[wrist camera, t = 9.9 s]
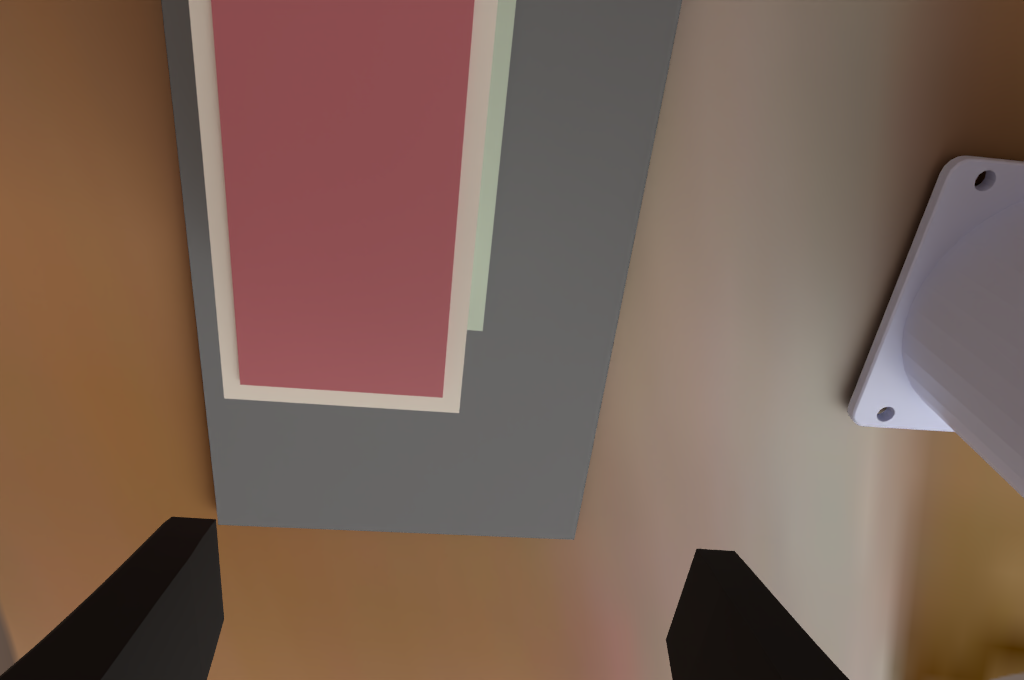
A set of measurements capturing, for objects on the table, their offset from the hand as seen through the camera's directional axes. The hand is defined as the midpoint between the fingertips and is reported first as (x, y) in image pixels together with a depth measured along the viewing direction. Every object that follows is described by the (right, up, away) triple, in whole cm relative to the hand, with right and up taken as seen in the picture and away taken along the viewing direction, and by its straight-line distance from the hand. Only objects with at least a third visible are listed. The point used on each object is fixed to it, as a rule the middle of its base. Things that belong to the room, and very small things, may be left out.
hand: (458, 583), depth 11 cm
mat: (-2, +6, +7) cm, 10 cm away
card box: (-2, +8, +6) cm, 10 cm away
